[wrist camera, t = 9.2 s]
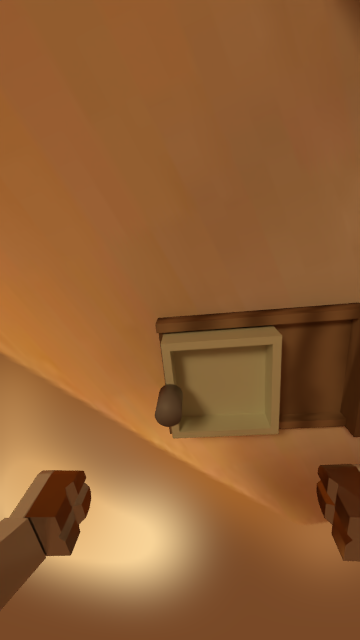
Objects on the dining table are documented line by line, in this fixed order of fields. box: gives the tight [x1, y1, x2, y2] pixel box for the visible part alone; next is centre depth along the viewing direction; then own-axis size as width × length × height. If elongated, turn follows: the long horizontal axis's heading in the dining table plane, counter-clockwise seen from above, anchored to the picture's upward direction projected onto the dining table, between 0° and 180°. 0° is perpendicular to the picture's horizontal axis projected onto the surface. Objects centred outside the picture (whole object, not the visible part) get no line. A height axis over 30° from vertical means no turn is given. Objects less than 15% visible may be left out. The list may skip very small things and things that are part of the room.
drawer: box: [155, 325, 282, 438], centre depth 31 cm, size 15×14×8 cm
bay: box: [156, 303, 360, 437], centre depth 34 cm, size 26×17×4 cm, turn 95°
